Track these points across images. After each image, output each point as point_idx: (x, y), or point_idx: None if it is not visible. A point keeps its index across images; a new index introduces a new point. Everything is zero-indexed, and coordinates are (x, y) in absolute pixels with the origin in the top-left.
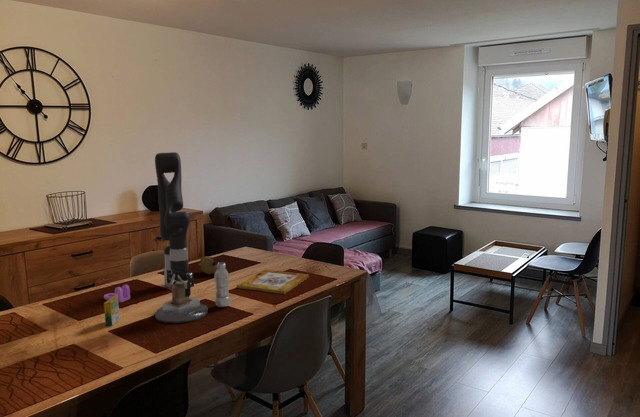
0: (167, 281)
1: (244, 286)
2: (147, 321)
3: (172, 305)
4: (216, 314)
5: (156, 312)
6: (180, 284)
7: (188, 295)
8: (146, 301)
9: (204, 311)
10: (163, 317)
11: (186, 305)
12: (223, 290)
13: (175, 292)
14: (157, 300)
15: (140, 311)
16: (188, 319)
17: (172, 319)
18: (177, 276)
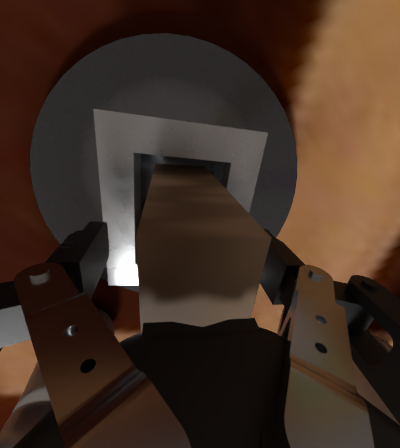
0: (375, 285)
1: None
2: (270, 14)
3: (178, 133)
4: (28, 254)
5: (279, 117)
6: (169, 296)
7: (76, 235)
8: (392, 231)
9: (64, 237)
10: (191, 60)
11: (101, 186)
12: (21, 397)
13: (192, 202)
14: (356, 255)
15: (373, 133)
16: (42, 115)
17: (112, 52)
18: (240, 423)
